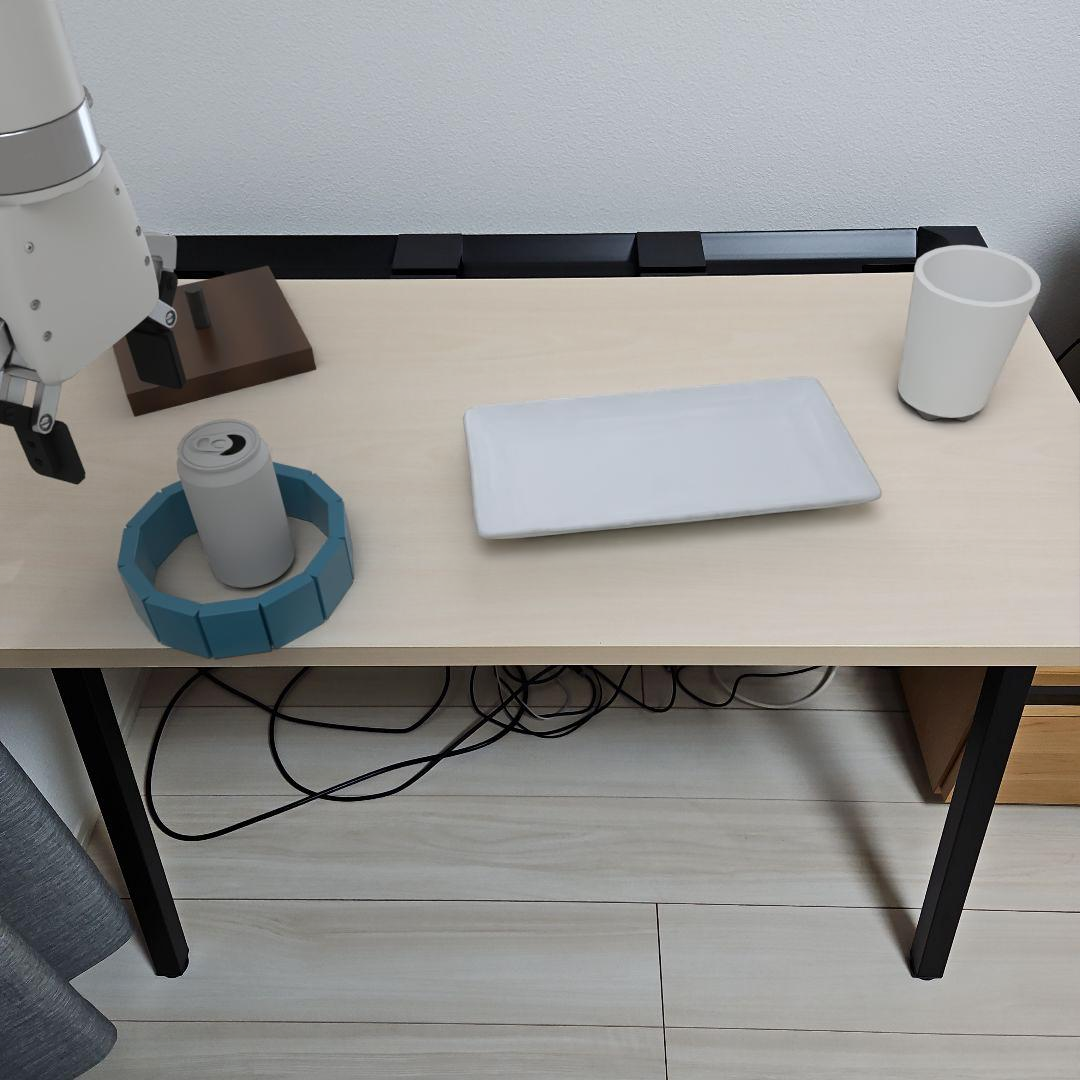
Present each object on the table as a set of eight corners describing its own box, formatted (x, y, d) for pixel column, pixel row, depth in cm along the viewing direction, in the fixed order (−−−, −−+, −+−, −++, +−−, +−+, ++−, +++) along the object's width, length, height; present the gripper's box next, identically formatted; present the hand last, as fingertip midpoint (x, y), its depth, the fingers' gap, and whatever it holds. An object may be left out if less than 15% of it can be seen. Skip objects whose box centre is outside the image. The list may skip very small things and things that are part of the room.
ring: (154, 690, 72) (136, 648, 69) (118, 539, 83) (101, 497, 80) (384, 613, 77) (377, 570, 74) (322, 480, 88) (312, 437, 85)
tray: (463, 434, 92) (461, 402, 90) (811, 402, 94) (818, 370, 92) (479, 570, 80) (476, 537, 77) (878, 529, 82) (887, 496, 80)
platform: (134, 416, 95) (112, 356, 90) (107, 325, 106) (87, 267, 101) (316, 369, 100) (304, 309, 95) (272, 286, 111) (260, 229, 106)
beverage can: (288, 594, 78) (254, 471, 70) (203, 594, 79) (159, 472, 70) (303, 535, 83) (273, 414, 75) (223, 535, 83) (185, 414, 75)
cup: (1009, 435, 90) (1057, 306, 82) (893, 433, 91) (928, 304, 82) (981, 369, 98) (1022, 244, 89) (874, 367, 98) (904, 242, 89)
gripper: (69, 74, 58) (150, 341, 69) (-190, 208, 46) (-41, 502, 57) (185, 91, 56) (248, 363, 67) (-55, 236, 44) (71, 535, 56)
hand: (115, 427), depth 62 cm, fingers open, 9 cm apart
